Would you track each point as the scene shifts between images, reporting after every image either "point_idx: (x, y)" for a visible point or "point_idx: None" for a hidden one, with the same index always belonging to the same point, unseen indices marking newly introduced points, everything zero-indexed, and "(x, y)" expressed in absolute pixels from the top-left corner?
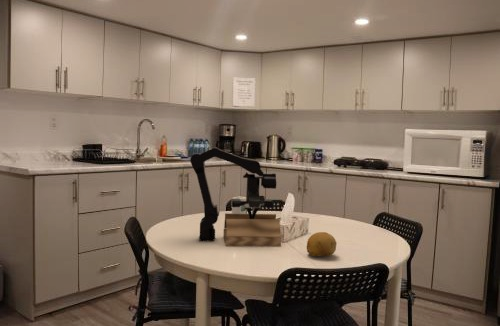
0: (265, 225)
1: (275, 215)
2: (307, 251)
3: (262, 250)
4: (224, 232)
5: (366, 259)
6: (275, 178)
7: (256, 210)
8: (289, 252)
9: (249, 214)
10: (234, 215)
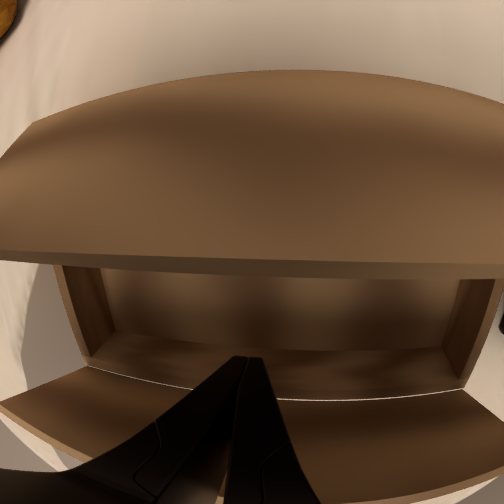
0: (60, 167)
1: (7, 401)
2: (11, 12)
3: (213, 4)
4: (487, 315)
5: None
6: None
7: (56, 488)
8: (68, 19)
9: (284, 459)
10: (452, 471)
